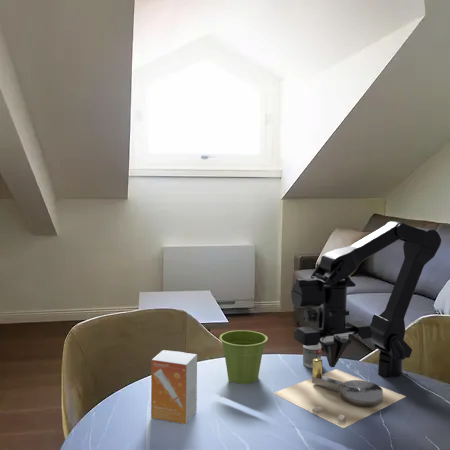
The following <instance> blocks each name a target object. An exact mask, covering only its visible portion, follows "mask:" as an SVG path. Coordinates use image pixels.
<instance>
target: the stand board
mask: <svg viewBox="0 0 450 450" xmlns="http://www.w3.org/2000/svg"><path fill="white" fill-rule="evenodd" d="M322 376H325V377H328V378H331V379H334V380H337V381H341V382H343V383H344V382H346V381H351V380H362V381H366V380H365V379H362V378H360V377H357V376H354V375H352V374H350V373H347V372H345V371H342V370H340V369H336V368H335V369H333V370H332V369H331V370H330V371H328V372H324V373H322ZM379 386H380V385H379ZM380 387H381V388H382V390H383V398H382V402H381V403H380V404H378V405H375V406H359V405H355V404H351V403H349V402H347V401H345V400H344V399H343V398H342V396H341V391H339V392H338V391H335V390H332V389H329V388H326V387H323V386H320V385H317V384H314V383H312V377H311V378H309V379H306V380H303V381H301V382H299V383H296V384H292V385H290V386H288V387H285V388H282V389H280V390H277V391H275V392H273V393H272V394H273V395H275V396H277V397H279V398H281V399H283V400H285V401H287V402H289V403H292V404H294V405H296V406H297V407H299V408H301V409H303V410H306V411H308V412H310V413H311V414H313V415H315V416H317V417H319V418H321V419H323V420H325V421H327V422H329V423H331V424H333V425H336V426H338V427H339V428H341V429H345V428H347V427H349V426H352V425H353V424H355V423H358V422H359V421H361V420H363V419H365V418H367V417H369V416H371V415H373V414H375V413H377V412H378V411H381V410H382V409H385V408H387V407H389V406H390V405H393V404H394V403H396V402H398V401H400V400H402V399H404V398H406V397H407V396H406V395H404V394H401V393H398V392H396V391H393V390H391V389H388V388H385V387H383V386H380Z"/></svg>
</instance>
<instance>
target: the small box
mask: <svg viewBox="0 0 450 450" xmlns="http://www.w3.org/2000/svg"><path fill="white" fill-rule="evenodd" d="M150 368H151V370H150V371H151V376H150V377H151V379H150V380H151V381H150V382H151V383H150V385H151V388H150V390H151V391H150V393H151V394H150V401H151V402H150V404H151V405H150V408H151V409H150V410H151V411H150V413H151V415H150V416H151V417H150V418H151V419H154V420H161V421H166V422H167V421H168V422H172V423H177V424H183V425H187V424H188V422H190V419H192V418H193V416H194V415H195V413H196V412H197V408H198V407H197V403H198V401H197V400H198V398H197V397H198V395H197V394H198V389H197V388H198V354H197V353H188V352H185V351H184V352H183V351H177V350H176V351H175V350H165V349H163V350H161V351H160V352H159V353H158V354H157V355H156V356H154V357H153V358H152V359H151V367H150Z"/></svg>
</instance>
